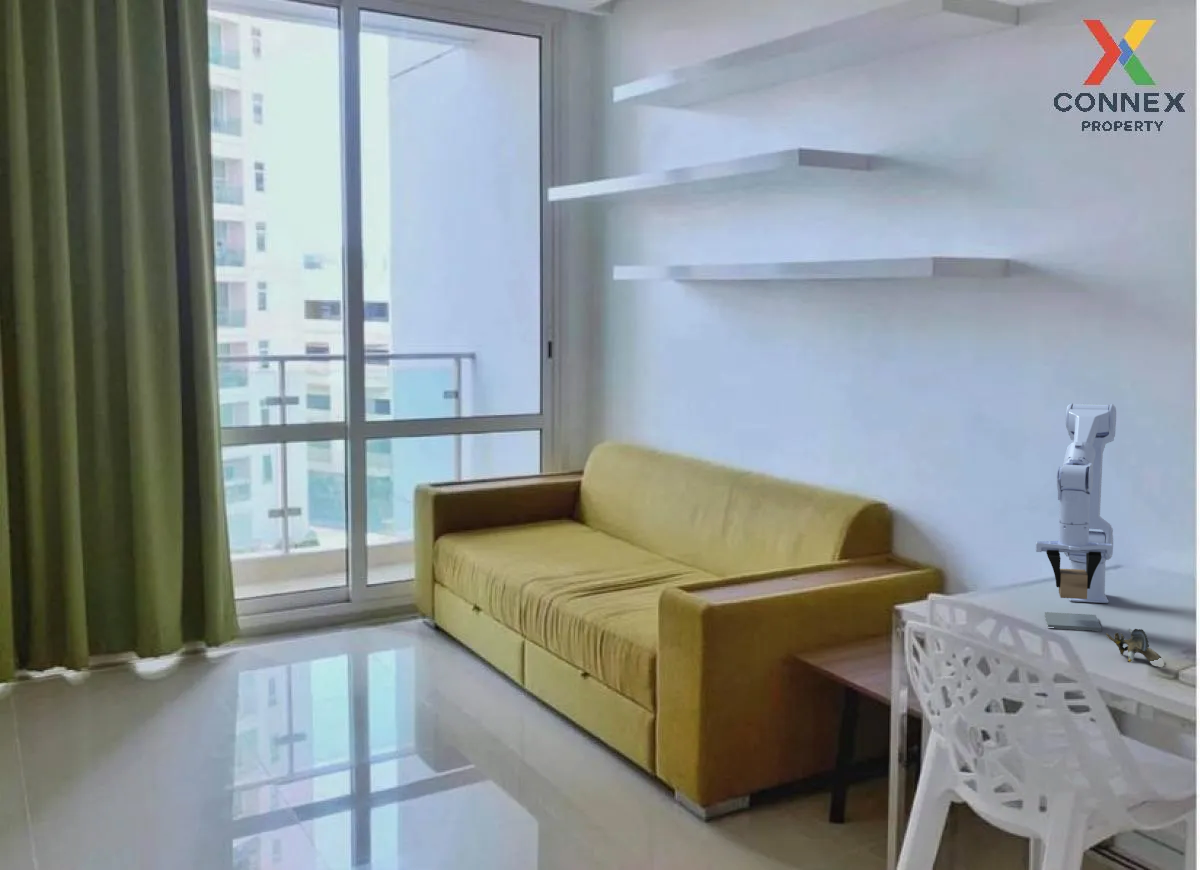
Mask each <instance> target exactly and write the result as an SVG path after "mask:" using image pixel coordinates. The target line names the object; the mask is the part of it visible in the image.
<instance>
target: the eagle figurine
mask: <svg viewBox="0 0 1200 870" xmlns="http://www.w3.org/2000/svg"><path fill="white" fill-rule="evenodd" d="M1128 632H1129V633H1130V638H1129V639H1128V638H1127V639H1125V636H1124V635H1123V633H1120V634H1119V632H1115V633H1114V638H1113V636H1111V635H1110V634H1109V633H1108V632H1106V633H1105V635H1106V637H1107V638H1108V639H1109V640H1110V641H1111V642H1113V643H1115V646H1117V647H1118V651H1119V652H1120V653H1119V654H1120V655H1121V654H1122V655H1124V653H1125V652H1126V651H1127V653H1128V655H1127V657H1128V659H1127V660H1128V661H1130V662H1131V661H1133V660H1134V657H1135V654H1137V653H1139V654H1141V655H1143V656H1144V657H1145V658H1146V659H1147V661H1148V663H1150V661H1154V660H1158V659H1159V658H1162V656H1161V655H1159V653H1157V651H1155V650H1154V649H1152V648H1150V644H1149V638H1148V635H1147V634H1146V631H1144V629H1142V628H1141V629H1138V628H1134V629H1133V630H1132V629H1131V628H1128ZM1124 645H1126V646H1125V647H1124ZM1122 655H1121V656H1122ZM1128 661H1127V662H1128Z"/></svg>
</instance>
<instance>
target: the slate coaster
mask: <svg viewBox="0 0 1200 870" xmlns="http://www.w3.org/2000/svg"><path fill="white" fill-rule="evenodd" d="M1045 618H1046V619H1045ZM1044 619H1045V622H1047V623H1046V626H1047V625H1048V626H1047V628H1048V627H1054V628H1062V629H1061V630H1067V629H1078V630H1077V631H1084V630H1092V631H1091V632H1102V626H1101V624H1100V622H1099V619H1098V617H1097V615H1096V614H1089V613H1086V614H1085V613H1071V612H1070V613H1069V612H1052V611H1051V612H1049V611H1047V612H1046V611H1044Z"/></svg>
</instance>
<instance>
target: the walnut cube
mask: <svg viewBox="0 0 1200 870" xmlns="http://www.w3.org/2000/svg"><path fill="white" fill-rule="evenodd" d="M1087 577H1088V575H1087V573H1086V571H1085V570H1081V569H1070V568H1060V587H1058V594H1059V598H1061V599H1069V598H1074V599H1087Z"/></svg>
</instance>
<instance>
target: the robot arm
mask: <svg viewBox="0 0 1200 870" xmlns="http://www.w3.org/2000/svg"><path fill="white" fill-rule="evenodd" d="M1116 425H1117V408H1116V406H1115V405H1114V404H1113V403H1110V404H1097V403H1096V404H1091V403H1090V404H1089V403H1087V404H1086V403H1085V404H1084V403H1083V404H1082V403H1069V404H1068V405H1067V406H1066V411H1065V426H1066V427H1065V428H1066V429H1067V433H1068V436H1069V438H1070V440H1071V441H1073V442H1071V443H1070V444H1068V445H1067V446H1066V447H1067V448H1066V450H1065V453H1064V458H1063V462H1062V466H1058V468H1057V471H1056V488H1057V500H1058V501H1059V504H1058V509H1059V510H1058V515H1059V516H1058V540H1046V541H1045V540H1042V541H1039V540H1036V541H1035V552H1036V553H1042V552H1045V553H1046V556H1047V558H1048V560H1049V562H1050V564H1051V567H1052V571H1053V573H1054V577H1055V578H1054V579H1055V586H1056V588H1059V587H1060V569H1061V559H1062V558H1061V554H1060V553H1063V554H1064V556H1066V557H1068V560H1069V561H1070V567H1069V569H1081V570H1085V571H1086V573H1087V575H1088V577H1087V599H1074V598H1068V600H1069V602H1079V603H1080V602H1081V603H1095V604H1096V603H1101V604H1109V599H1108V597H1107V595H1106V562H1107V561H1109V560H1110V559H1111V558H1112V557H1113V553H1114V534H1113V532H1114V529H1113V527H1112V524H1111V523H1109V522H1108V521H1107V520H1105V519H1104V518H1103V517H1102V516H1101V503H1102V502H1101V500H1102V499H1101V498H1102V481H1103V479H1102V477H1103V476H1102V474H1103V458H1104V457H1103V456H1104V455H1103V454H1104V450H1105V448H1106V446H1107V445H1106V444H1109V443H1111V442H1114V440H1115V437H1116V428H1117V427H1116ZM1094 530H1095V531H1094ZM1096 530H1101V531H1096Z"/></svg>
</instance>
